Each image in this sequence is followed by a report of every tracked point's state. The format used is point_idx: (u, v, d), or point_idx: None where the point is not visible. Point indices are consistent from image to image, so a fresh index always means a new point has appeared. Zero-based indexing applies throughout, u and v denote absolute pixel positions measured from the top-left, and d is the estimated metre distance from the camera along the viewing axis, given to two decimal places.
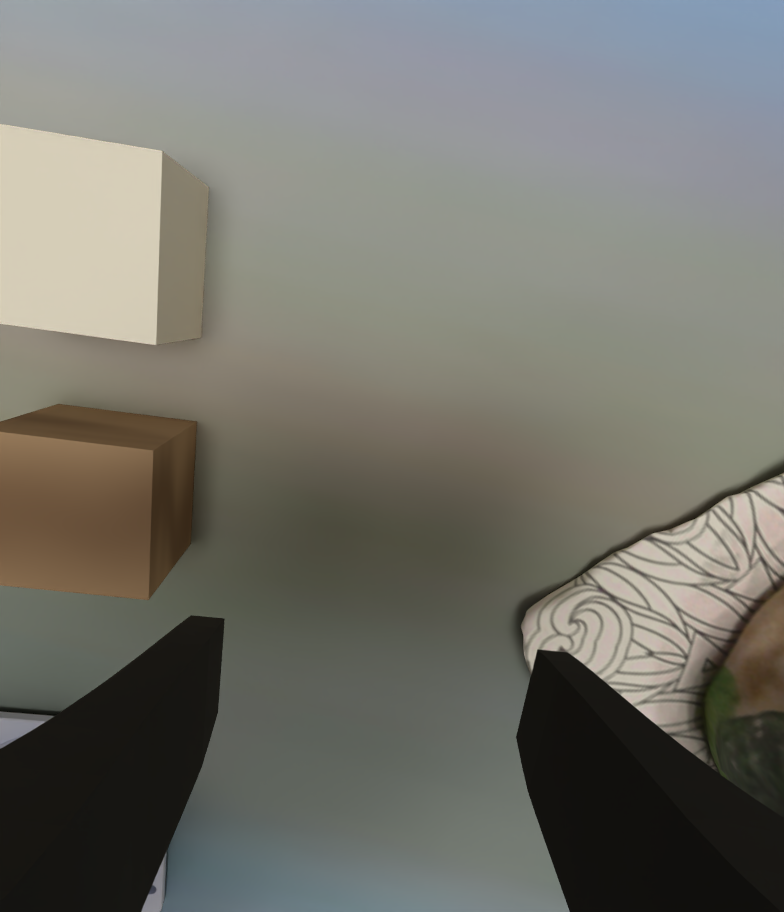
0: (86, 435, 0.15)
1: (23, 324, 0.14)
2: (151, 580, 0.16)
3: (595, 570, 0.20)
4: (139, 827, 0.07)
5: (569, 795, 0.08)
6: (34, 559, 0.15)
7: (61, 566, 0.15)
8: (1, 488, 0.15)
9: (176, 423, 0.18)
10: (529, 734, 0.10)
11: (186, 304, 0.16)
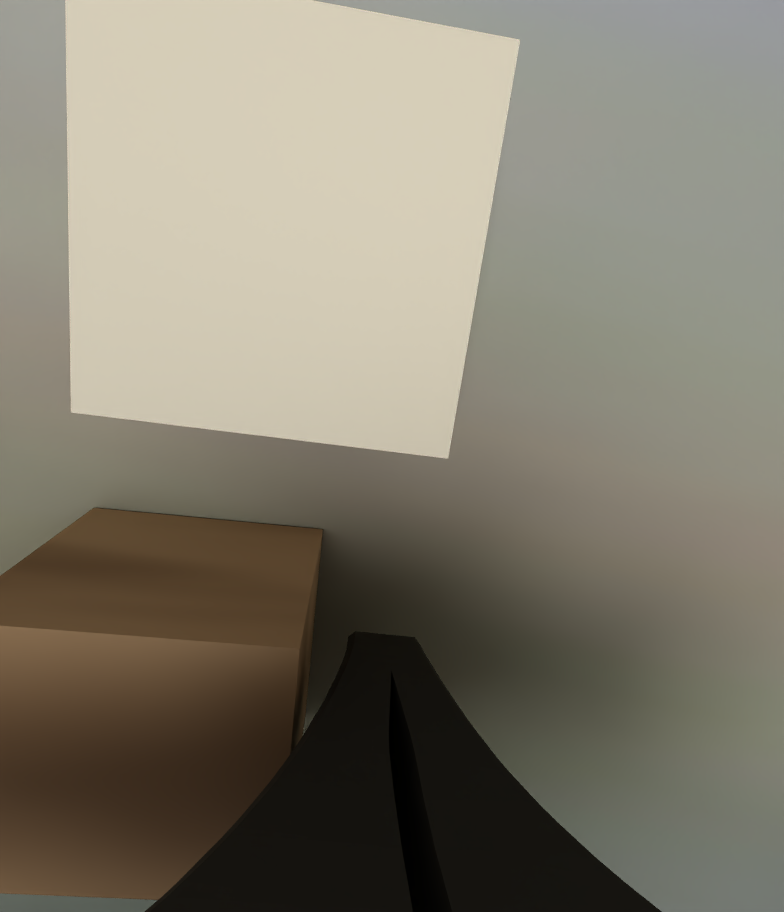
0: (159, 610, 0.08)
1: (181, 421, 0.06)
2: None
3: None
4: None
5: None
6: (61, 848, 0.08)
7: (113, 857, 0.08)
8: None
9: (295, 542, 0.10)
10: None
11: None
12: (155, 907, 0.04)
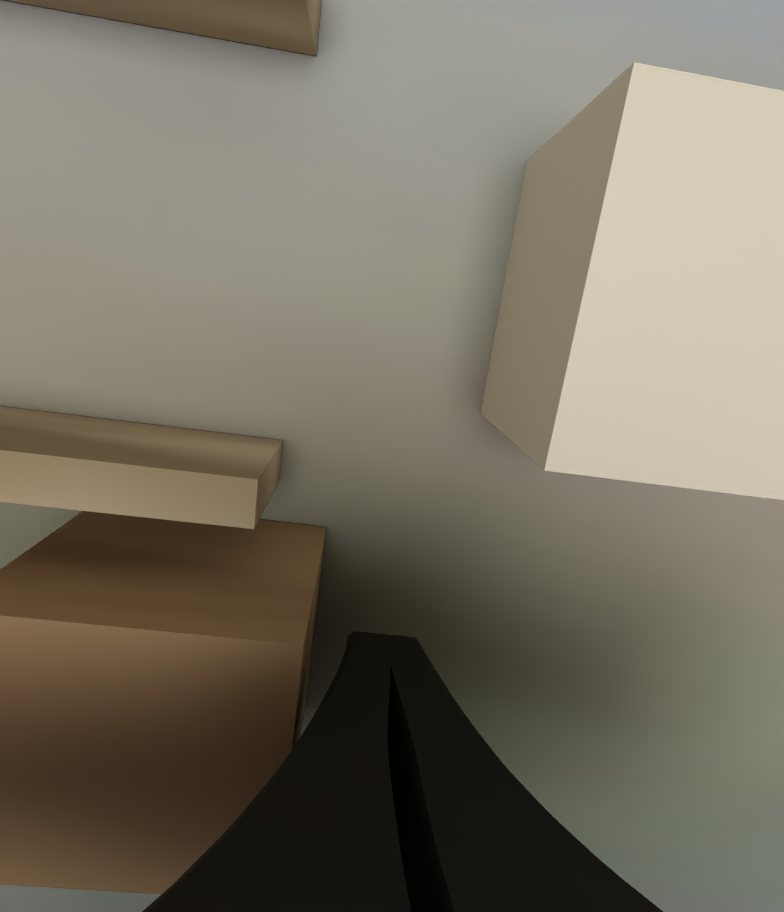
0: (163, 604, 0.08)
1: (640, 478, 0.07)
2: None
3: None
4: None
5: None
6: (60, 840, 0.08)
7: (111, 850, 0.08)
8: None
9: (298, 539, 0.10)
10: None
11: None
12: (153, 907, 0.04)
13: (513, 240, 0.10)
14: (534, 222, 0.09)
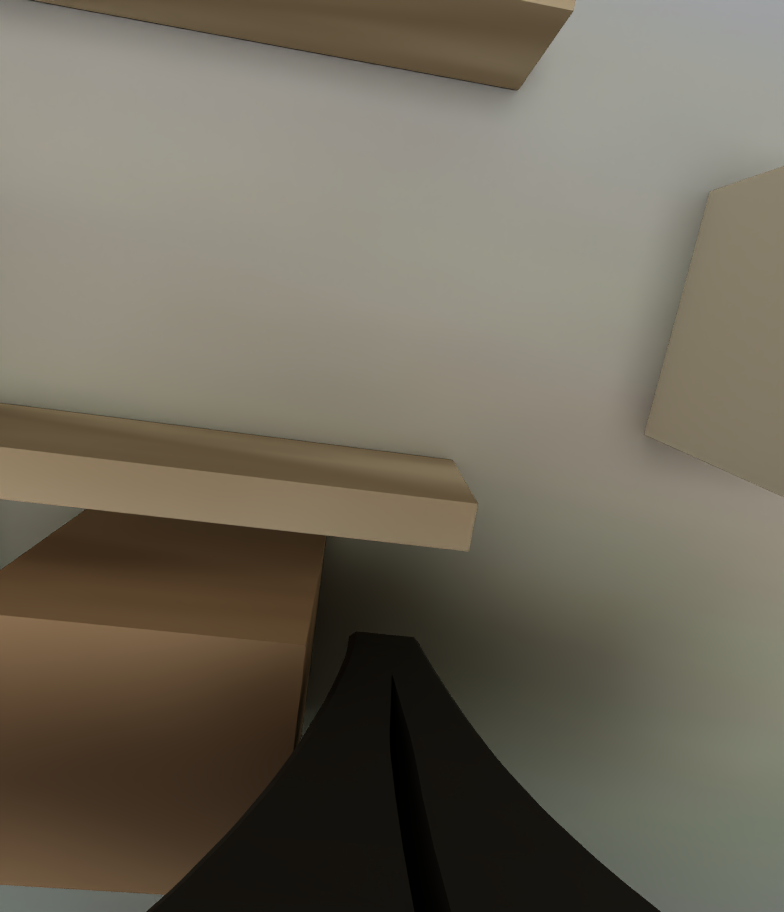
0: (165, 603, 0.08)
1: None
2: None
3: None
4: None
5: None
6: (61, 840, 0.08)
7: (112, 850, 0.08)
8: None
9: (299, 539, 0.10)
10: None
11: None
12: (156, 907, 0.04)
13: (691, 267, 0.10)
14: (735, 254, 0.09)
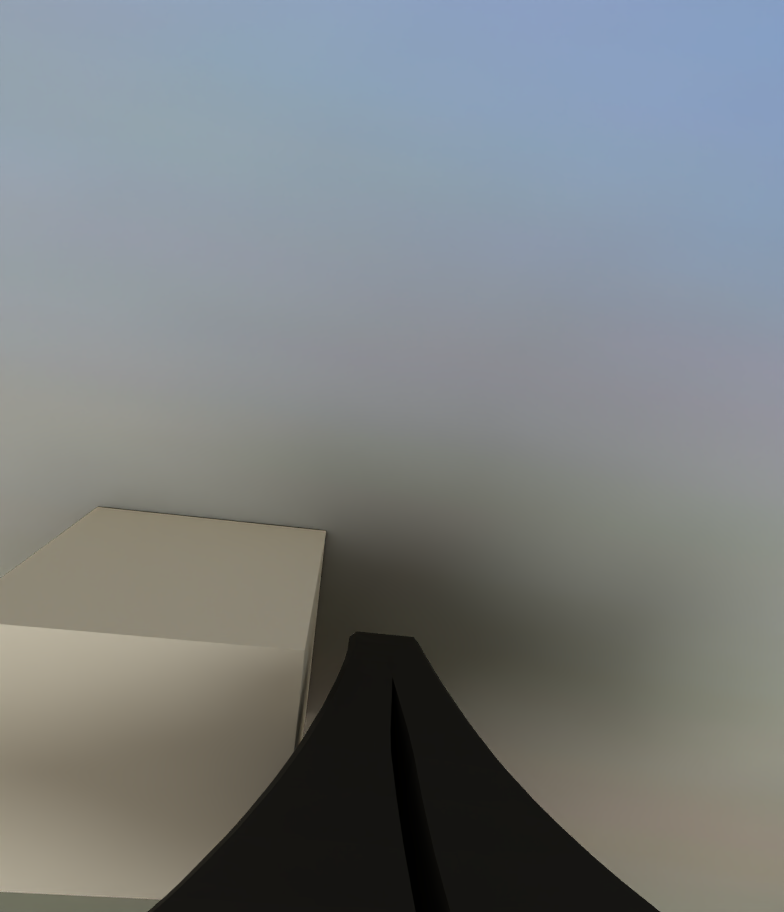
0: None
1: (58, 891, 0.08)
2: None
3: None
4: None
5: None
6: None
7: None
8: None
9: None
10: None
11: (301, 733, 0.10)
12: (158, 907, 0.04)
13: None
14: None
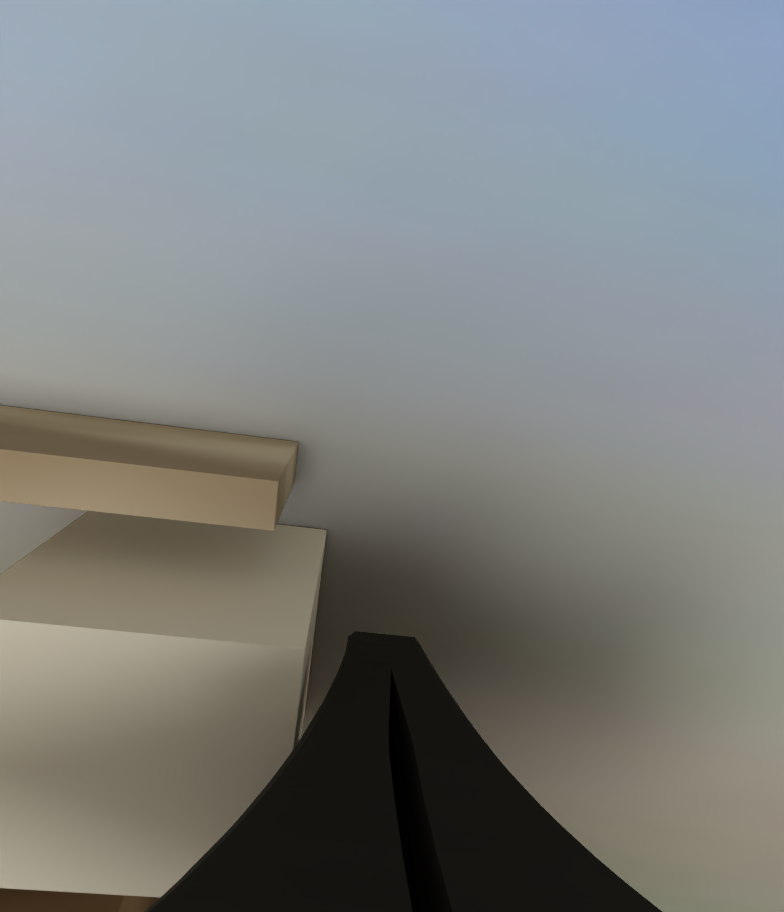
0: None
1: (55, 888, 0.08)
2: None
3: None
4: None
5: None
6: None
7: None
8: None
9: None
10: None
11: (300, 732, 0.10)
12: (154, 907, 0.04)
13: None
14: None
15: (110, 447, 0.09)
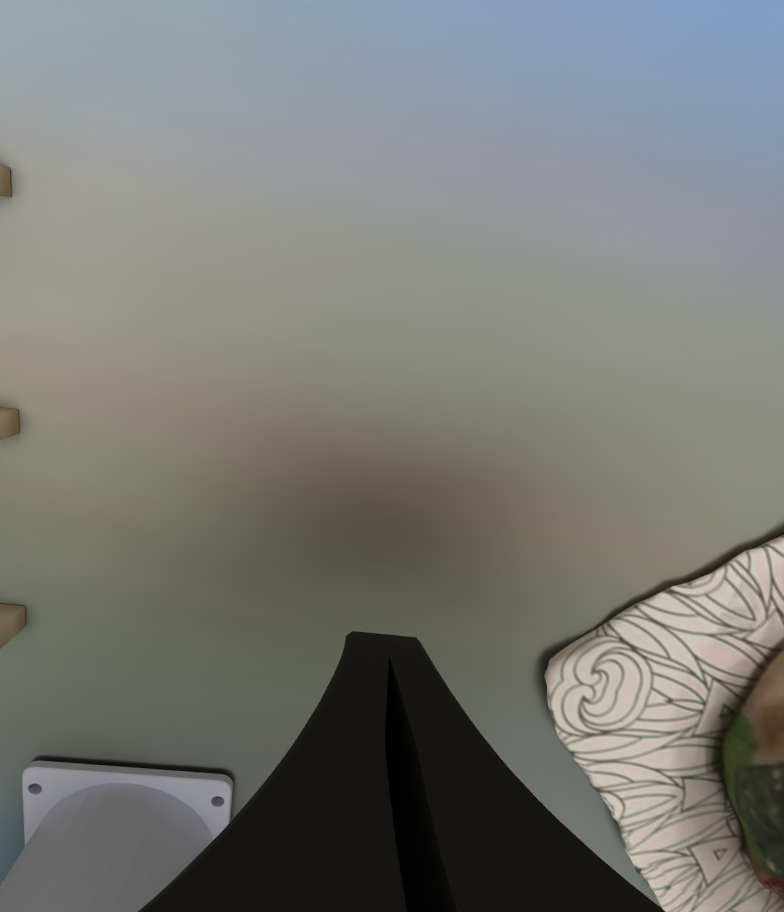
0: None
1: None
2: None
3: (616, 621, 0.20)
4: None
5: None
6: None
7: None
8: None
9: None
10: None
11: None
12: (148, 907, 0.04)
13: None
14: None
15: None
